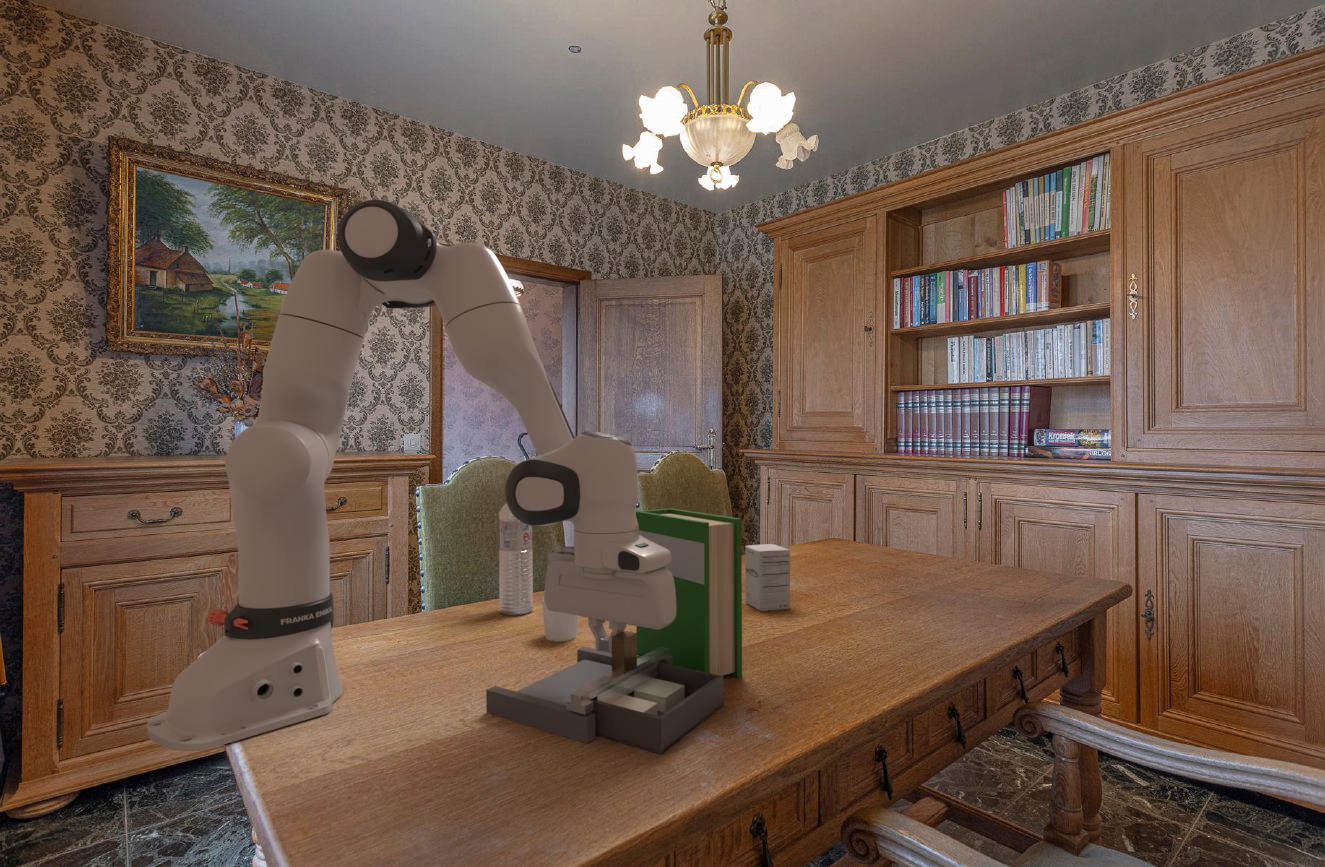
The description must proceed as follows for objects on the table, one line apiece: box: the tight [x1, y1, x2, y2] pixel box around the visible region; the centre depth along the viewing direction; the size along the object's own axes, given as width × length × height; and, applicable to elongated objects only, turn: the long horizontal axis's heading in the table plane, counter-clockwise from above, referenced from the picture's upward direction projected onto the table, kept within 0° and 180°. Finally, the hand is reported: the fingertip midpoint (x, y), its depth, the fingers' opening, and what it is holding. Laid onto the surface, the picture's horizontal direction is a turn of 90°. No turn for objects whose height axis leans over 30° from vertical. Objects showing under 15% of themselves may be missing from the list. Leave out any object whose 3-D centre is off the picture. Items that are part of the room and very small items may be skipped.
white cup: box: [541, 597, 579, 642], centre depth 120 cm, size 7×7×7 cm
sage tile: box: [634, 678, 685, 713], centre depth 90 cm, size 5×5×2 cm
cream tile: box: [611, 695, 658, 716], centre depth 84 cm, size 5×5×2 cm
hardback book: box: [635, 508, 743, 679], centre depth 105 cm, size 18×7×24 cm, turn 37°
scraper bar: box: [566, 630, 674, 715], centre depth 88 cm, size 21×3×8 cm, turn 148°
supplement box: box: [744, 543, 791, 612], centre depth 141 cm, size 7×7×13 cm
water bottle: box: [498, 502, 534, 617], centre depth 137 cm, size 7×7×25 cm
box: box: [589, 662, 725, 755], centre depth 86 cm, size 16×12×4 cm
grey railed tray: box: [485, 646, 639, 744], centre depth 92 cm, size 21×17×3 cm
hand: (607, 651), depth 90 cm, fingers closed
